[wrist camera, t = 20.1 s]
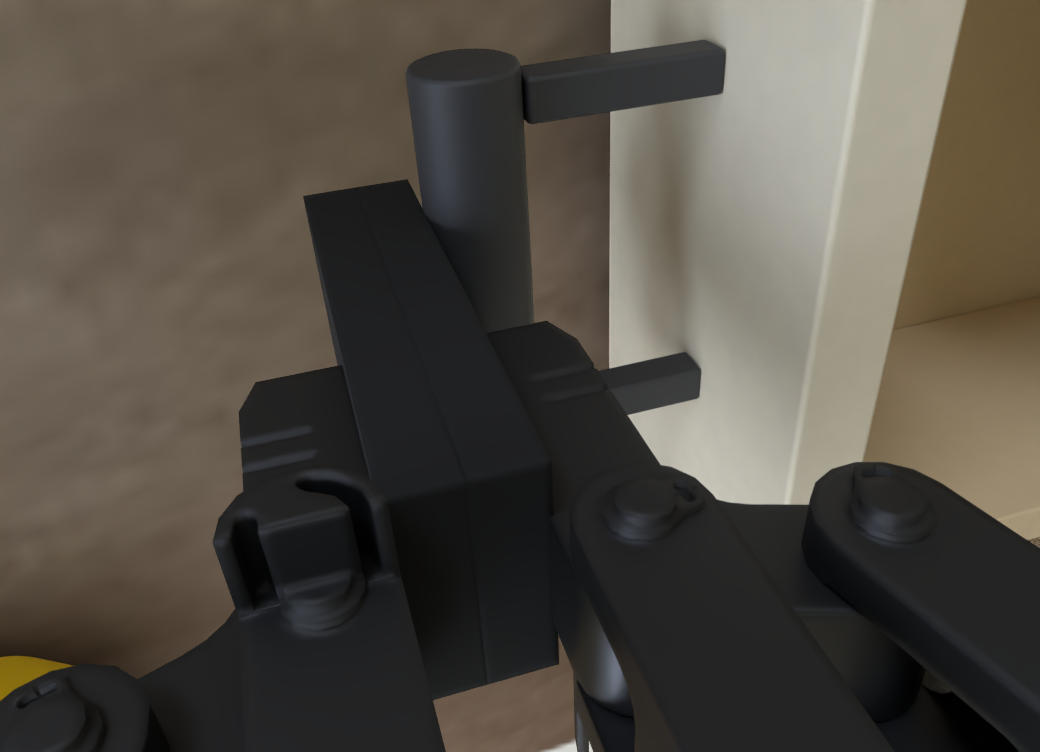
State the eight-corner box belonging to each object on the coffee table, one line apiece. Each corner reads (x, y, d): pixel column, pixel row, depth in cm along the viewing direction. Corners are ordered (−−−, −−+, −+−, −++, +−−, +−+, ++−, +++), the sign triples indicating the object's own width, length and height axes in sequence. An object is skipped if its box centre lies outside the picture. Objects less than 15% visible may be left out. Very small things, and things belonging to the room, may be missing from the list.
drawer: (427, 458, 19) (519, 732, 14) (320, -253, 12) (426, -268, 6) (1103, 300, 23) (1386, 467, 17) (1338, -317, 15) (1952, -361, 10)
